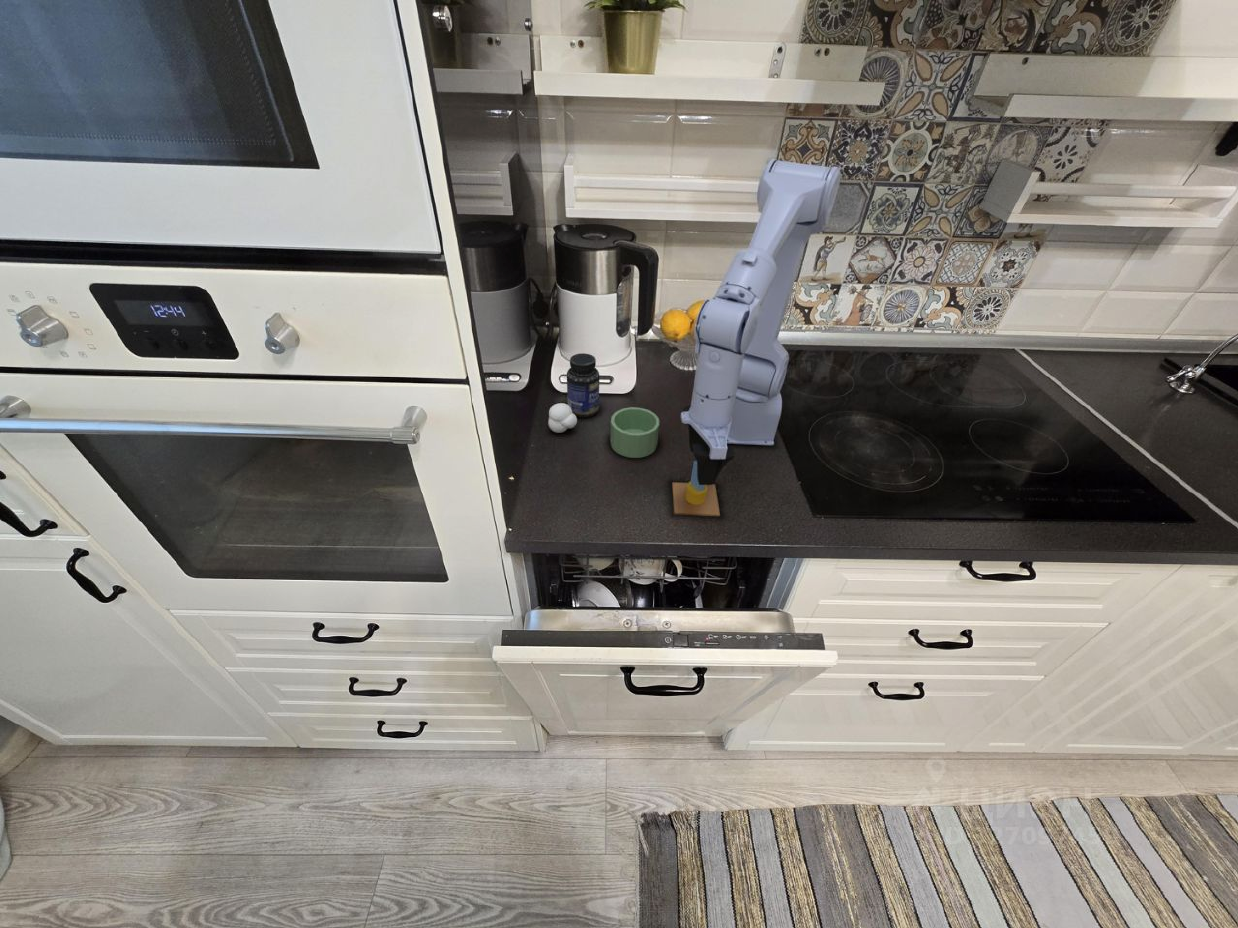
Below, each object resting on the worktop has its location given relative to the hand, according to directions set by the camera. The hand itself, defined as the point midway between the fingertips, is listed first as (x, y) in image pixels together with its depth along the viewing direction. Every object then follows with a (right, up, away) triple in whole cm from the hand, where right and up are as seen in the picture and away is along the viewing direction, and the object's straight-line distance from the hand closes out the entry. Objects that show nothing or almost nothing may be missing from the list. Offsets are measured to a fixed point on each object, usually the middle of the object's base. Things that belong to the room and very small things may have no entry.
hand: (701, 466), depth 77 cm
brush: (0, -5, +4) cm, 7 cm away
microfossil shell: (-23, +6, +18) cm, 29 cm away
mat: (0, -5, +4) cm, 7 cm away
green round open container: (-10, +4, +15) cm, 19 cm away
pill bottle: (-19, +11, +23) cm, 32 cm away
